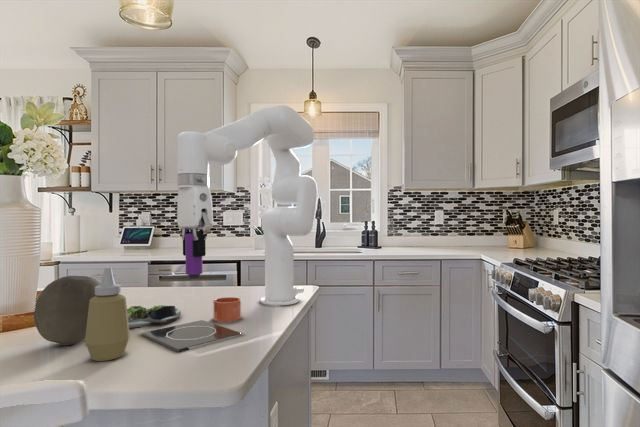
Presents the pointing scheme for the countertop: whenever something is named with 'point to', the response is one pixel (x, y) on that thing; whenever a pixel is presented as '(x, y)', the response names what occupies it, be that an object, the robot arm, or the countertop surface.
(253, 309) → the countertop surface
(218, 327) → the slate board
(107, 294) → the squeeze bottle
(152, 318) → the salad plate
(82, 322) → the cantaloupe
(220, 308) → the pen pot
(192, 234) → the cylinder
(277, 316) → the countertop surface
